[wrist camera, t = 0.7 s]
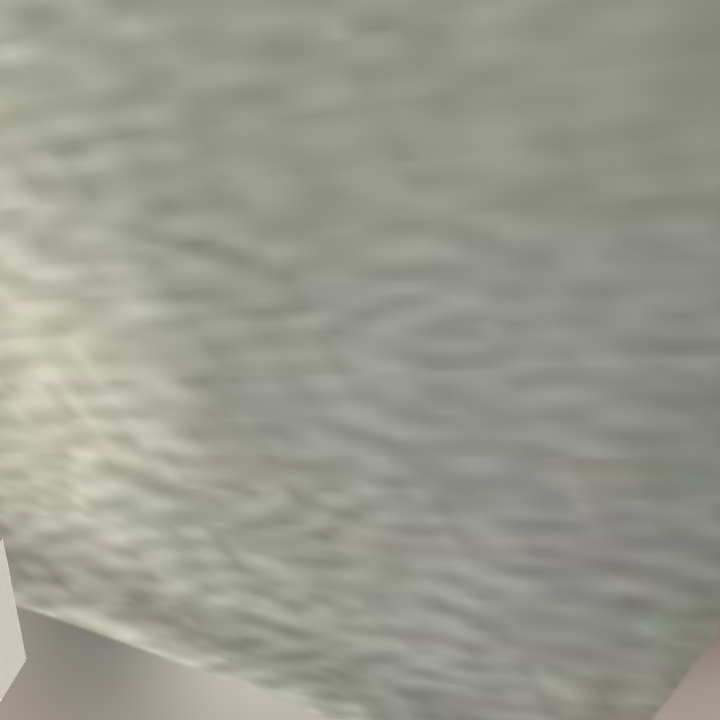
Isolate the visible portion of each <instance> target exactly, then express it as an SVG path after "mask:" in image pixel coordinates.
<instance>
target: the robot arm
mask: <svg viewBox="0 0 720 720" xmlns="http://www.w3.org/2000/svg"><path fill="white" fill-rule="evenodd" d="M25 661H26V656H25V651H24V645H23V640H22V635H21V630H20V625H19V620H18V615H17V609H16V604H15V599H14V594H13V589H12V584H11V579H10V574H9V568H8V563H7V558H6V553H5V548H4V543H3V538H0V701H1V699H2V698H3V696H4V694H5V693H6V691H7V690H8V688H9V687H10V685H11V683H12V682H13V680H14V678H15V677H16V675H17V674H18V672H19V670H20V669H21V667H22V666H23V664H24V662H25Z"/></svg>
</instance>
